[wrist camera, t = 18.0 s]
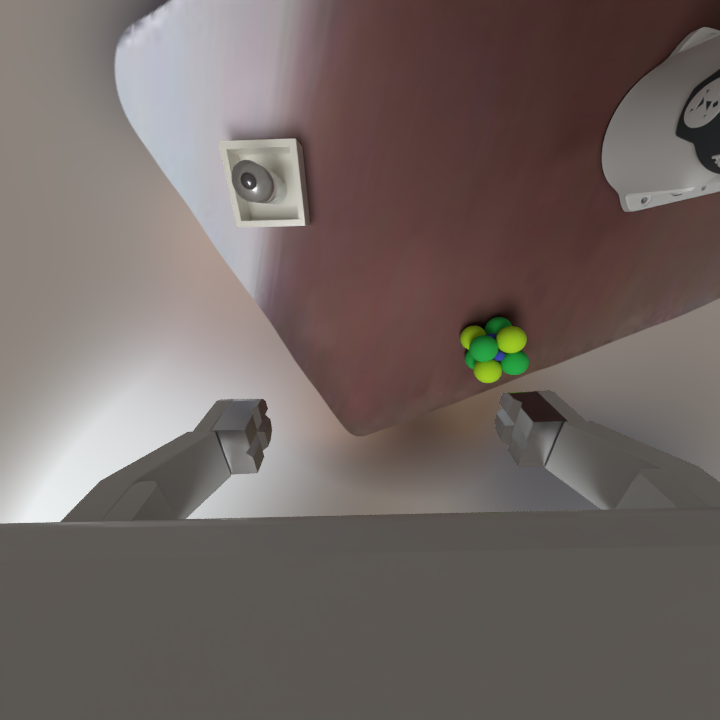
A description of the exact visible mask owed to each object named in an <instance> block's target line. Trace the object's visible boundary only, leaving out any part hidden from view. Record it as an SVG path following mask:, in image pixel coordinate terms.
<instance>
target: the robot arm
mask: <svg viewBox="0 0 720 720" xmlns="http://www.w3.org/2000/svg"><path fill="white" fill-rule="evenodd" d="M602 167H603V172H604V175H605V177H606V179H607V181H608V182H609V184H610V185H611V186H612V187H613V188H614V189H615V190H616V191H617V193H618V194H619V198H620V203H621V207H622V209H623V210H624V211H625V212H632V211H638V210H642V209H646V208H651V207H655V206H659V205H663V204H668V203H672V202H676V201H680V200H685V199H689V198H693V197H698V196H702V195H706V194H710V193H715V192H719V191H720V31H719V30H716V29H712V28H709V27H702V28H700V29H697V30H695V31H693V32H691V33H690V34H688V35H687V36H686V37H685V38H684V39H683V40H682V42H681V43H680V44H679V45H678V46H677V47H676V49H675V50H674V51H673V52H672V54H671V55H670V56H669V57H668V58H667V59H666V60H665V61H664V62H663V63H662V64H660V65H659V66H658V67H656V68H655V69H653V70H652V71H651V72H649V73H648V74H647V75H645V76H644V77H643V78H642V79H641V80H640V81H639V82H638V83H637V84H636V85H635V86H634V87H633V88H632V89H631V90H630V91H629V92H628V94H627V95H626V96H625V98H624V99H623V100H622V102H621V103H620V105H619V106H618V108H617V110H616V111H615V113H614V115H613V117H612V119H611V121H610V123H609V126H608V128H607V131H606V134H605V138H604V142H603V148H602ZM642 199H643V201H642V202H641V200H642ZM499 403H500V405H501V406H502V409H500V410H499V411H498V412H497V413H496V417H495V428H496V432H497V434H498V436H499V438H500V439H501V441H503V442H505V443H506V444H508V445H509V447H508V452H509V453H510V455H511V457H512V458H513V460H514V461H515V463H516V464H517V466H518V467H521V466H522V467H525V466H526V467H533V466H534V467H545V468H546V469H547V470H549V471H550V472H551V473H553V474H554V475H556V476H557V477H558V478H560V479H561V480H562V481H564V482H565V483H566V484H568V485H569V486H571V487H572V488H573V489H574V490H576V491H577V492H579V493H580V494H581V495H583V496H584V497H585V498H587V499H588V500H589V501H591V502H592V503H593V504H595V505H596V506H597V507H599V508H600V509H601V510H564V511H523V512H521V511H520V512H482V513H481V512H478V513H436V514H435V513H434V514H391V515H351V516H350V515H349V516H307V517H266V518H265V517H264V518H223V519H186V518H187V517H188V516H189V515H190V514H191V513H192V512H193V511H194V510H195V509H196V508H197V507H199V506H200V505H201V504H202V503H203V502H204V501H205V500H206V499H207V498H208V497H209V496H210V495H211V494H212V493H213V492H214V491H216V490H217V489H218V488H219V487H220V486H221V485H222V484H223V483H224V482H225V481H226V480H227V479H228V478H229V477H230V476H231V474H249V473H258V471H259V468H260V466H261V463H262V461H263V458H264V454H263V450H264V449H265V448H267V447H268V445H269V443H270V440H271V433H272V427H271V421H270V419H269V418H268V417H267V416H266V415H265V414H266V411H267V409H268V408H267V405H266V401H265V400H263V399H227V400H226V399H225V400H218V401H216V403H215V404H214V405H213V407H212V408H211V409H210V410H209V412H208V413H207V414H206V415H205V417H204V418H203V419H202V421H201V422H200V423H199V424H198V426H197V427H196V428H195V429H194V431H193V432H187V433H185V434H183V435H182V436H180V437H178V438H176V439H174V440H173V441H171V442H169V443H167V444H165V445H164V446H162V447H160V448H158V449H157V450H155V451H153V452H151V453H149V454H148V455H146V456H144V457H142V458H140V459H139V460H137V461H135V462H133V463H132V464H130V465H128V466H126V467H124V468H123V469H121V470H119V471H117V472H115V473H114V474H112V475H110V476H109V477H107V478H105V479H103V480H101V481H100V482H99V483H98V484H97V485H96V486H95V487H94V488H93V489H92V490H91V491H90V492H89V493H88V494H87V495H86V496H85V497H84V499H82V500H81V501H80V502H79V503H78V504H77V505H76V506H75V507H74V509H72V510H71V511H70V513H69V514H67V516H66V517H65V518H64V519H63V520H62V521H61V522H54V523H53V522H52V523H8V524H0V720H720V482H719V481H717V480H716V479H715V478H713V477H712V476H711V475H709V474H708V473H706V472H705V471H704V470H703V469H701V468H700V467H698V466H696V465H694V464H691V463H689V462H687V461H684V460H682V459H680V458H677V457H674V456H672V455H670V454H668V453H665V452H663V451H661V450H658V449H656V448H654V447H651V446H649V445H646V444H644V443H642V442H639V441H637V440H635V439H633V438H630V437H628V436H625V435H623V434H621V433H618V432H616V431H614V430H611V429H609V428H607V427H604V426H602V425H600V424H597V423H595V422H593V421H586V420H584V418H582V417H581V416H580V415H579V414H578V413H577V412H576V411H575V410H573V409H572V408H571V407H570V406H569V405H568V404H567V403H565V402H564V401H563V400H562V399H561V398H560V397H559V396H558V395H557V394H555V393H554V392H552V391H549V390H547V391H533V392H511V393H503V394H502V396H501V398H500V401H499Z"/></svg>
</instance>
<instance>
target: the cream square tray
mask: <svg viewBox="0 0 720 720" xmlns="http://www.w3.org/2000/svg"><path fill="white" fill-rule="evenodd" d="M218 143H219V148H220V152H221V157H222V162H223V166H224V171H225V175H226V180H227V185H228V189H229V194H230V199H231V203H232V208H233V212H234V217H235V222H236V226H237V228H245V227H276V226H306V225H310V216H309V206H308V196H307V187H306V177H305V167H304V157H303V147H302V146H301V144H300V143H299V142H298V141H297V139H296V138H294V139H265V140H237V141H218ZM242 160H250V161H253V162H255V163H257V164H259V165H261V166H263V167H265V168H267V169H268V170H270V171H272V172H274V173H276V174H278V175H279V176H281V177H282V179H283V180H284V182H285V184H286V187H287V195H286V198H285V200H284V201H283V202H282V203H281V204H278V205H271V204H263V203H256V202H249V201H246V200H244V199H243V198H241V197H240V196H239V195H238V194H237V192H236V191H235V189H234V187H233V184H232V178H231V176H232V170H233V168H234V166H235V165H236V164H237V163H238V162H239V161H242Z"/></svg>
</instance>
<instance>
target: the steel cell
mask: <svg viewBox="0 0 720 720" xmlns="http://www.w3.org/2000/svg"><path fill="white" fill-rule="evenodd" d="M231 178H232V184H233V187H234V189H235V191H236V192H237V194H238V195H239V196H240V197H241V198H243V199H244V200H246V201H249V202H256V203H263V204H271V205H278V204H281V203H282V202H283V201H284V200H285V198H286V195H287V187H286V184H285V182H284V180H283V179H282V177H281V176H279V175H278V174H276V173H274V172H272V171H270V170H268V169H267V168H265V167H263V166H261V165H259V164H257V163H255V162H253V161H250V160H242V161H239V162H238V163H237V164H236V165H235V166H234V168H233V170H232V176H231Z"/></svg>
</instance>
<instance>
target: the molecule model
mask: <svg viewBox="0 0 720 720" xmlns="http://www.w3.org/2000/svg"><path fill="white" fill-rule="evenodd" d="M460 341H461V343H462V345H463V346H464V347H465V348H466V349H469V350H468V351H467V353H466V355H465V362H466V364H467V365H468V367H470V368H471V369H474V374H475V376H476V378H477V379H478V380H480V381H481V382H484V383H492V382H494V381H496V380H498V379H499V377H500V376H501V373H502V370H503V371H504V372H505V373H507V374H510V375H518V374H521V373H523V372H524V371H525V370H526V369H527V368H528V366H529V359H528V356H527V355H526V354H525V353H524V352H523V351H521V349H523V347H524V346H525V344H526V341H527V337H526V334H525V332H524V331H523V330H522V329H521V328H519V327H516V326H512V324H511V322H510V321H509V320H507V319H506V318H503V317H496V318H493V319H491V320H489V321H488V322H487V324H486V326H485V331H484V329H482V328H481V327H479V326H469V327H467V328H465V329H464V330H463V331H462V333H461V336H460Z"/></svg>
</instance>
